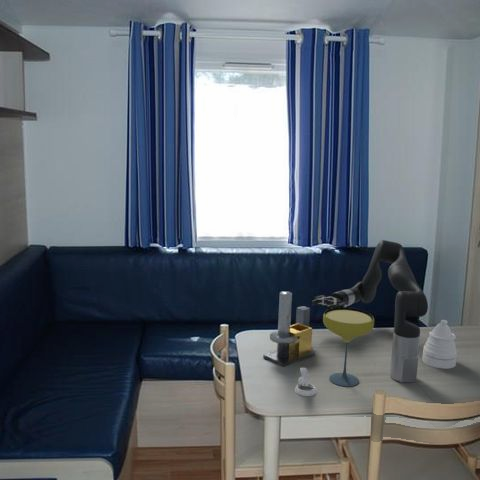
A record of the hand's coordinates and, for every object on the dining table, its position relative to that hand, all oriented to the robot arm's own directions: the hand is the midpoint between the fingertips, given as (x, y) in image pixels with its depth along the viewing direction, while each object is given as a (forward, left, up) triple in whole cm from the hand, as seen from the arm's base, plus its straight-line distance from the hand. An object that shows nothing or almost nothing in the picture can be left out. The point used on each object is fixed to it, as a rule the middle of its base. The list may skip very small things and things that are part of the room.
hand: (319, 305), depth 240 cm
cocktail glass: (-42, +5, -15) cm, 45 cm away
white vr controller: (-48, +22, -15) cm, 55 cm away
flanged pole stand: (-18, +19, -15) cm, 30 cm away
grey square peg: (-6, +10, -15) cm, 19 cm away
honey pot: (-32, -40, -15) cm, 53 cm away
